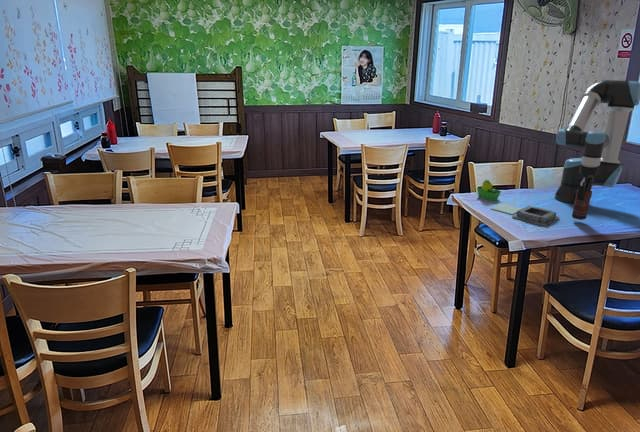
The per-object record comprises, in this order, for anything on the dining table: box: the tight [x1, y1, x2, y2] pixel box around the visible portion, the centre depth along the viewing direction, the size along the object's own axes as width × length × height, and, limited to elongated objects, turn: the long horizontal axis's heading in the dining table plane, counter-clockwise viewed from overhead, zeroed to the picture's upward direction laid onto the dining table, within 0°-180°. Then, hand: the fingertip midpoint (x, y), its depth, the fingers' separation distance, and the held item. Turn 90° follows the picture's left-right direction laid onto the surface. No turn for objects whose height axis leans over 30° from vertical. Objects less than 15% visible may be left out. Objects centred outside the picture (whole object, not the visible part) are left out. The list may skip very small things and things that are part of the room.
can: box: [571, 189, 593, 221], centre depth 217 cm, size 6×6×14 cm
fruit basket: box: [476, 179, 502, 202], centre depth 254 cm, size 11×9×11 cm
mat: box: [490, 203, 522, 216], centre depth 237 cm, size 12×12×1 cm
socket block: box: [511, 205, 560, 227], centre depth 224 cm, size 16×16×4 cm
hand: (580, 212), depth 219 cm, fingers closed
